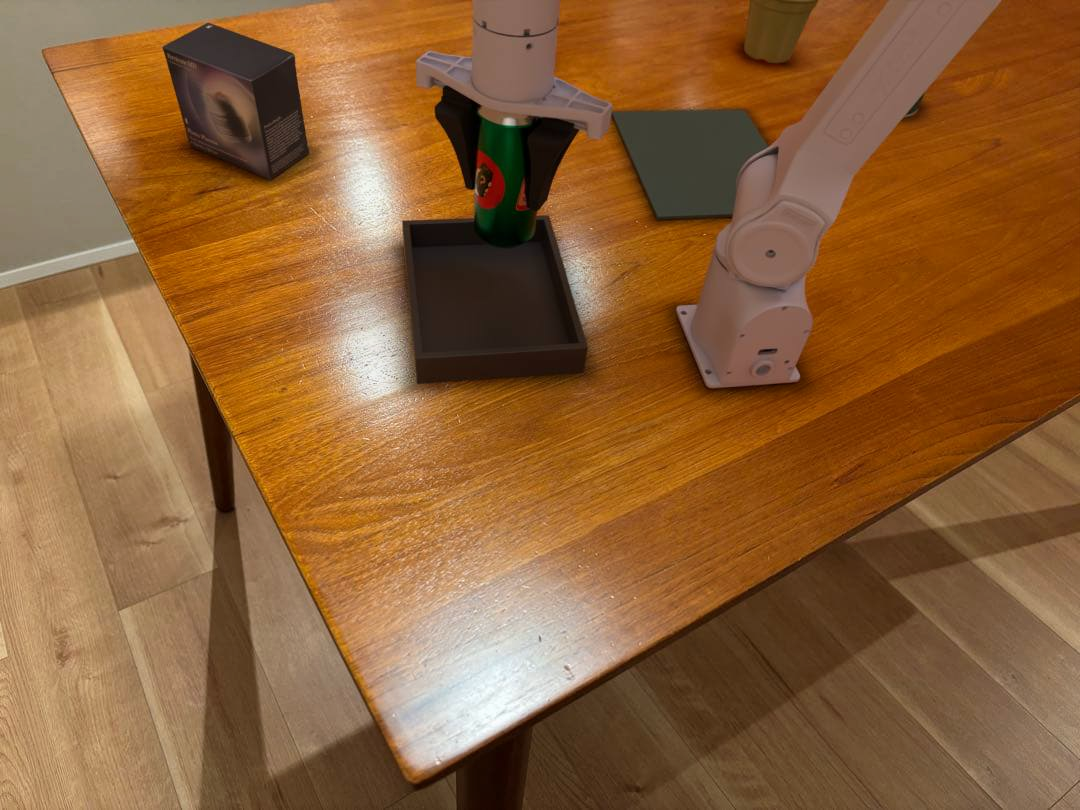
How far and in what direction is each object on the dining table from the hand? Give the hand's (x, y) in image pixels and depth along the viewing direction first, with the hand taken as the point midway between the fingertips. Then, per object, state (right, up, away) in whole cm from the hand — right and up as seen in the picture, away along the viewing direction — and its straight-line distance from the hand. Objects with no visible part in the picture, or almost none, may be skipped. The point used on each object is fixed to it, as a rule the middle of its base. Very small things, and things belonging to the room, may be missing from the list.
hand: (506, 193), depth 64 cm
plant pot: (+32, +29, +42) cm, 60 cm away
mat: (+20, +9, +23) cm, 32 cm away
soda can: (0, -3, +3) cm, 4 cm away
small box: (-27, +9, +18) cm, 33 cm away
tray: (-2, -8, +5) cm, 10 cm away
